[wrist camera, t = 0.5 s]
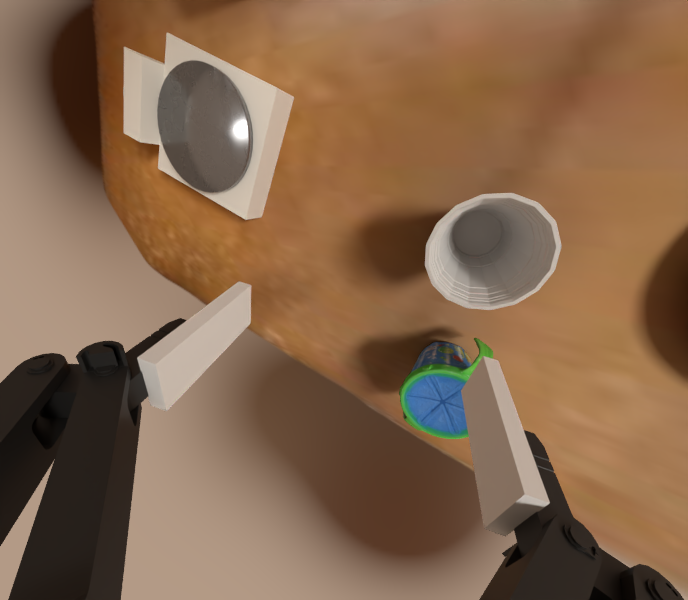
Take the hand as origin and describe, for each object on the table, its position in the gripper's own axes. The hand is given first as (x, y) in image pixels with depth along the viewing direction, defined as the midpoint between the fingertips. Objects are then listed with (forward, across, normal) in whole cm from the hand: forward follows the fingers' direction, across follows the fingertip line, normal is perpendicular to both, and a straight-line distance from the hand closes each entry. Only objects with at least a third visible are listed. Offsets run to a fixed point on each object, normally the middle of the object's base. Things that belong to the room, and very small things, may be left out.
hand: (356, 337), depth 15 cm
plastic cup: (+25, +10, +2) cm, 27 cm away
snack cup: (+23, +14, -18) cm, 32 cm away
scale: (+30, -29, +5) cm, 42 cm away
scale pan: (+26, -28, +5) cm, 38 cm away
